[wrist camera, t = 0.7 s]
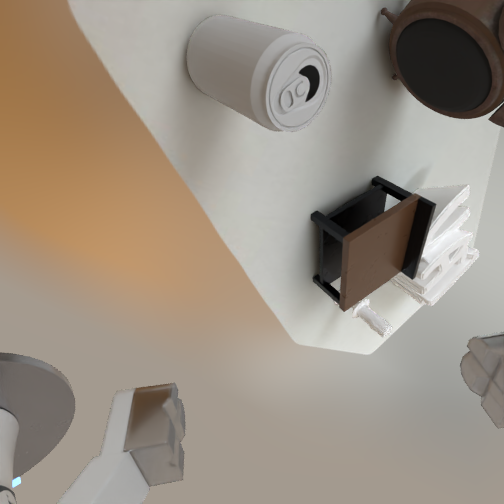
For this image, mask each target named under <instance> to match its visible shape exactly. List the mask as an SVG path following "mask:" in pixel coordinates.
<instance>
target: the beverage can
mask: <svg viewBox="0 0 504 504" xmlns="http://www.w3.org/2000/svg"><path fill="white" fill-rule="evenodd" d="M187 67H188V71H189V74H190V76H191V79H192V80H193V82H194V84H195V85H196V86H197V87H198V88H199V89H200V90H201V91H202V92H203V93H205V94H207V95H209V96H210V97H212V98H214V99H216V100H217V101H219V102H221V103H223V104H225V105H226V106H228V107H230V108H232V109H233V110H235V111H237V112H239V113H240V114H242V115H244V116H246V117H248V118H249V119H251V120H253V121H255V122H256V123H258V124H260V125H262V126H264V127H265V128H267V129H269V130H272V131H286V132H294V131H298V130H301V129H303V128H304V127H306V126H308V125H309V124H310V123H311V122H312V121H313V120H314V119H315V118H316V117H317V116H318V114H319V113H320V112H321V110H322V108H323V106H324V104H325V102H326V100H327V97H328V94H329V90H330V85H331V66H330V62H329V59H328V57H327V55H326V53H325V52H324V51H323V49H321V48H320V47H319V46H318V45H316V43H315V42H314V41H313V40H312V39H311V38H310V37H308V36H306V35H304V34H301V33H297V32H293V31H289V30H284V29H280V28H276V27H272V26H268V25H264V24H259V23H255V22H251V21H247V20H243V19H239V18H235V17H230V16H226V15H215V16H211V17H209V18H207V19H205V20H204V21H203V22H201V23H200V24H199V25H198V26H197V28H196V29H195V30H194V32H193V34H192V36H191V38H190V41H189V44H188V48H187Z"/></svg>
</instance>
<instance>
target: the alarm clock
mask: <svg viewBox="0 0 504 504" xmlns="http://www.w3.org/2000/svg"><path fill="white" fill-rule="evenodd" d="M381 14H382V15H385V16H386V17H387V18H388V19H389V21H390V22H391V23H392V24H393V26H392V29H391V32H390V38H389V51H390V57H391V61H392V64H393V67H394V69H395V71H396V73H397V75H396V74H394V75H393V76H392V79H393V80H397V79H398V78H399V79H400V80H401V82H402V83H403V85H404V86H405V87H406V89H407V90H408V91H409V92H410V93H411V94H412V95H413V96H414V97H415V98H416V99H417V100H418V101H420V102H421V103H422V104H424V105H425V106H427V107H428V108H430V109H432V110H434V111H435V112H438V113H440V114H443V115H445V116H449V117H453V118H459V119H472V118H477V117H481V116H484V115H486V114H488V113H490V112H491V111H493V110H494V109H495V108H497V107H498V106H499V105H500V104H501V103H503V102H504V0H411V1H410V2H409V4H408V5H407V6H406V7H405V9H404V10H403V11H402V12H401V13H400V15H399V16H397V15H395V14H392V13H390V12H388V11H387V9H386V8H383V9H382V10H381ZM488 120H490V121H491V122H493V123H495V124H497V125H499V126H502V127H504V103H503V104H502V105H501V106H500V107H499V108H498V109H497V110H496V111H495V113H494V114H493V115H492V116H491V117H490V118H489V119H488Z"/></svg>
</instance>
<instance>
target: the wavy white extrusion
mask: <svg viewBox="0 0 504 504" xmlns="http://www.w3.org/2000/svg"><path fill="white" fill-rule="evenodd" d="M414 193H416V194H418V195H420V196H422V197H424V198H426V199H428V200H430V201H432V202H434V203H436V204H437V205H436V208H435V211H434V215H433V218H432V222H431V225H430V229H429V232H428V236H427V239H426V243H425V246H424V250H423V253H422V257H421V260H420V264H419V267H418V271H417V274H416V277H415V278H414V279H413V280H412V279H410V278H409V277H407V276H406V275H405V274H403V273H402V272H400V273H398V274H397V275H396V276H394V277H393V278H391V279H390V280H391V281H392V282H393V283H394V284H396V285H397V286H398V287H399V288H401V289H402V290H403V291H404V292H406V293H407V294H408V295H410V296H411V297H412V298H413V299H415V300H416V301H417V302H419V303H420V304H421V305H424V304H426V303H427V304H428V305H430V306H433V305H434V304H435V303H436V302H437V301H438V300H439V299H440V298H441V297H442V296H443V294H444V293H445V292H446V291H447V290H448V289H449V288H450V287H451V286H452V285H453V284H454V283H455V281H457V280H458V279H459V278H460V276H461V275H462V274H463V273H464V272H465V271H466V270H467V269H468V268H469V267H470V266H471V265H472V263H473V262H474V261H475V260H476V259H477V258H478V257H479V256H480V253H479V251H478V250H477V249H474V248H471V247H469V246H468V244H469V242H470V240H471V239H472V237H473V232H469V231H465V230H461V229H459V228H460V227H461V225H462V224H463V223H464V222H465V221H466V220H467V219H468V218H469V216H470V208H469V207H465V206H459V205H460V204H461V203H462V202H463V201H464V200H466V199H467V198H468V197H469V196H470V188H469V184H468V185H456V186H444V187H432V188H420V189H417V190H415V191H414V192H413V193H412V194H414Z"/></svg>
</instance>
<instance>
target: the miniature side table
mask: <svg viewBox="0 0 504 504" xmlns="http://www.w3.org/2000/svg"><path fill="white" fill-rule="evenodd" d="M372 185H373V186H375V187H374V188H373V189H371V190H369V191H368V192H366V193H364V194H362V195H361V196H359V197H357V198H356V199H354V200H352V201H351V202H349V203H347V204H345V205H344V206H342V207H340V208H339V209H337V210H335V211H334V212H332V213H330V214H328V215H327V216H324V215H323V214H321V213H320V212H319V211H315V212H314V213H312V214H311V220H312V221H313V222H314V223H316V224H317V225H318V226H319V227H320V275H319V274H317V275H316V276H314V277H313V282H314V283H315V284H316V285H318V286H319V287H320V288H321V289H322V290H323V291H324V292H325V293H326V294H327V295H329V296H330V297H331V298H332V299H333V300H334V301H335V302H336V303H337V304H339V307H340V308H341V309H342V310H343V311H344V312H345V311H346V310H348V309H349V308H351V307H352V306H353V305H355V304H356V303H358V302H359V301H360V300H362V299H363V298H365V297H366V296H367V295H369V294H370V293H372V292H373V291H374V290H376V289H377V288H379V287H380V286H382V285H383V284H384V283H386V282H387V281H389V280H390V279H391V278H393V277H394V276H396V275H397V274H398V273H400V272H402V273H403V274H405V275H406V276H407V277H409V278H410V279H412V280H413V279H414V278H415V277H416V274H417V271H418V267H419V264H420V260H421V257H422V253H423V250H424V246H425V243H426V239H427V236H428V232H429V229H430V225H431V222H432V218H433V215H434V211H435V208H436V205H437V204H436V203H434V202H432V201H430V200H428V199H426V198H424V197H422V196H420V195H418V194H416V193H414V194H412V193H410V192H408V191H406V190H404V189H402V188H400V187H398V186H396V185H395V184H393V183H391V182H389V181H387V180H385V179H383V178H381V177H379V176H376V177H375V178H373V179H372ZM387 194H389V195H391V196H393V197H395V198H396V199H398V200H400V201H401V202H400V203H398V204H397V205H395V206H393V207H392V208H390V209H389V210H387V211H385V212H384V209H385V202H386V196H387ZM339 277H341V287H340V293H339V292H338V291H337V290H336V289H335V288H334V287H332V286H331V285H330V283H332V282H333V281H335V280H336V279H338V278H339Z"/></svg>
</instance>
